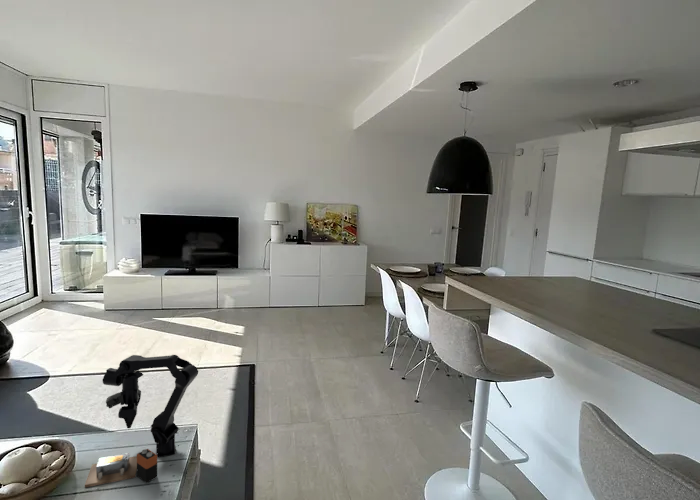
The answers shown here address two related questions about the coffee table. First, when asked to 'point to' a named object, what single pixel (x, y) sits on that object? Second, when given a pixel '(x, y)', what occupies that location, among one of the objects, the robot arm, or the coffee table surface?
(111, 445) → the coffee table surface
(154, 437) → the robot arm
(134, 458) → the brown board with pegs
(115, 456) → the block
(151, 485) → the coffee table surface
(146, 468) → the battery
